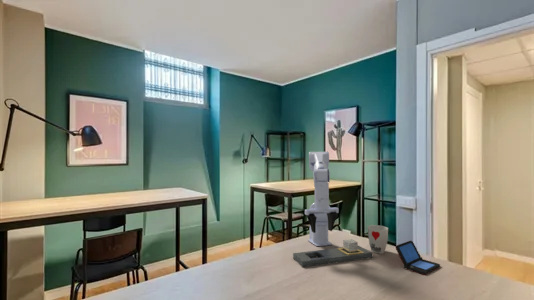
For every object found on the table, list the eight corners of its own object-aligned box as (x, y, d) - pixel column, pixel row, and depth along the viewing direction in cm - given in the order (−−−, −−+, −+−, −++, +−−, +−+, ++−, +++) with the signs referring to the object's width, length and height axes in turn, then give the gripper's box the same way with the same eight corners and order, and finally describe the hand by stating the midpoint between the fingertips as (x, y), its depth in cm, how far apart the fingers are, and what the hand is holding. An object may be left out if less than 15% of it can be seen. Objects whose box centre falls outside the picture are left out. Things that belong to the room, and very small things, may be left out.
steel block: (343, 254, 114) (343, 240, 115) (351, 253, 116) (351, 239, 116) (349, 258, 111) (348, 243, 111) (357, 257, 112) (357, 242, 112)
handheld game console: (425, 276, 94) (424, 254, 95) (394, 266, 103) (394, 245, 103) (441, 267, 102) (441, 246, 102) (411, 258, 111) (411, 239, 111)
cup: (363, 249, 120) (363, 226, 120) (377, 247, 124) (377, 224, 124) (378, 256, 113) (378, 231, 113) (392, 252, 116) (392, 228, 116)
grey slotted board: (293, 258, 111) (293, 252, 111) (358, 250, 120) (358, 245, 120) (302, 267, 102) (302, 261, 102) (372, 257, 111) (372, 252, 111)
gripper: (309, 200, 109) (310, 235, 109) (342, 198, 114) (342, 232, 113) (302, 197, 116) (302, 230, 116) (333, 196, 120) (333, 227, 120)
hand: (322, 231), depth 115 cm, fingers open, 7 cm apart
